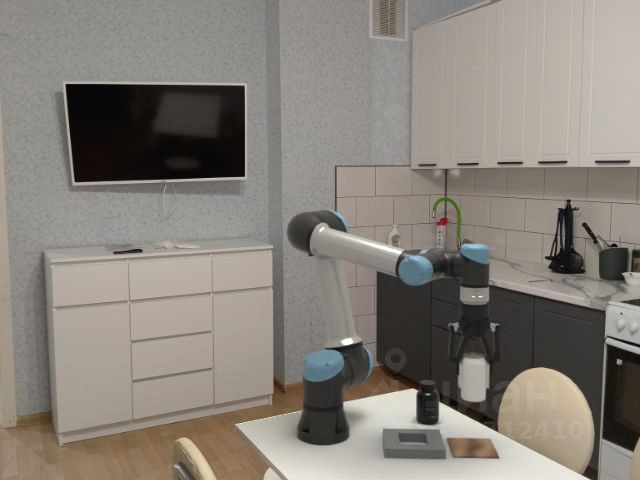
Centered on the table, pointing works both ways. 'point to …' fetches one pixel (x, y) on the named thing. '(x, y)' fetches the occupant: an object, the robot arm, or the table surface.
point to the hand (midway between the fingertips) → (473, 386)
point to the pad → (472, 448)
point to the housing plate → (425, 451)
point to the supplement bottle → (427, 403)
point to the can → (473, 377)
